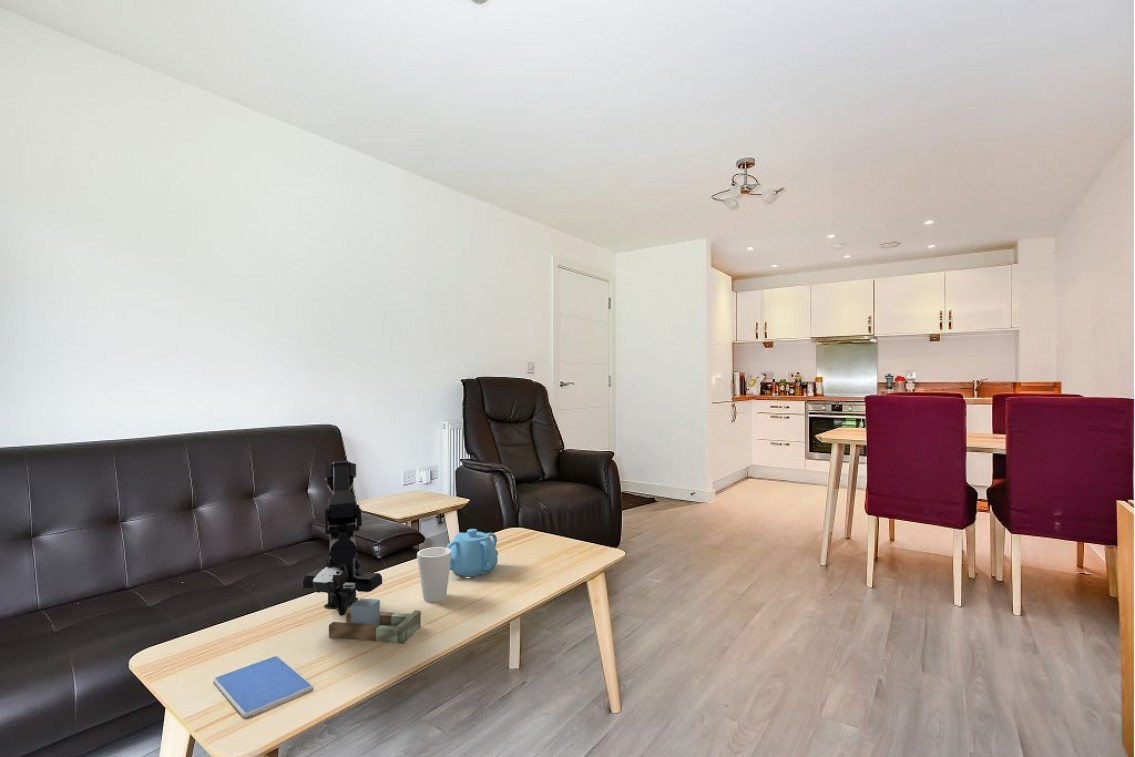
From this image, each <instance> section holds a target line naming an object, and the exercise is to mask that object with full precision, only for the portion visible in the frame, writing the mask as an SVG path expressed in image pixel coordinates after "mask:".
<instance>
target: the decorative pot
mask: <svg viewBox="0 0 1135 757" xmlns="http://www.w3.org/2000/svg"><path fill="white" fill-rule="evenodd" d="M466 530H467V531H466V532H458V533H457V534H456V535H455V536H454V537H453V540H452V541H450V542H449V543H448V544H447V545H446V548H449V549H450V550H451V561H450V570H449V571H452V572H453V573H454V574H456V575H460V576H464V577H472V578H474V577H473V576H480V575H483V574H488V573H487V572H489V573H490V572H492V571H493V570H494V569H496V566H497V564H498V556H499V551H498V550H497V549H496V547H497V543H498V541H497V540H498V537H497V535H496V534H495V533H493V532H487V533H485V532H482V531H478V529H477V528H469V529H466ZM491 537H492V538H491Z"/></svg>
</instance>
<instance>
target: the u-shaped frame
mask: <svg viewBox="0 0 1135 757" xmlns="http://www.w3.org/2000/svg"><path fill="white" fill-rule="evenodd" d="M421 612H422V611H421V610H418V609H417V610H415V609H414V610H413V611H412V612H411V613H402V612H401V613H400V612H390V611H389V612H388V611H380V625H371V624H358V623H351V609H349V610H347V611H346V614H345V622H344V621H342V622H341V621H332V622H331V623H330V624H328V638H330V639H331V638H333V639H341V640H342V639H344V640H355V641H367V642H377V643H389V644H390V643H391V644H402V645H403V644H405V643H406V642H407V641H408V640H409V639H410V638H411V637H413V635H414V634H415V633H416V632H417V631H419V629H421V626H422V625H421V624H422V622H421V621H422V620H421V619H422V616H421V615H422V613H421Z"/></svg>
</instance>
